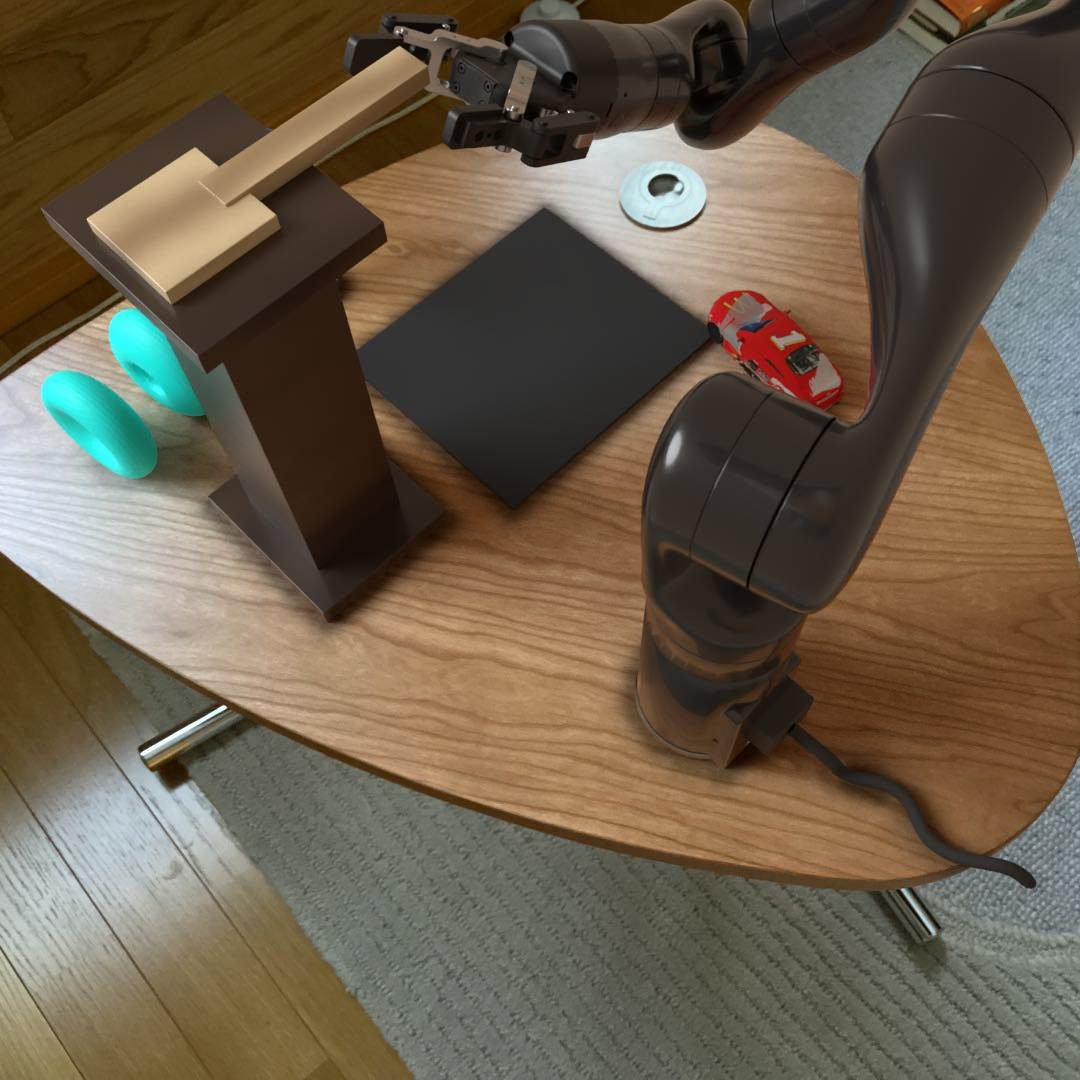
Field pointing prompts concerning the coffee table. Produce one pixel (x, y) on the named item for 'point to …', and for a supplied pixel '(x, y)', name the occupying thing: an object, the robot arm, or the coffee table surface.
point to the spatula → (241, 184)
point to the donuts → (104, 414)
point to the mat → (530, 355)
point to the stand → (275, 367)
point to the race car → (774, 348)
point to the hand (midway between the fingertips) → (397, 91)
